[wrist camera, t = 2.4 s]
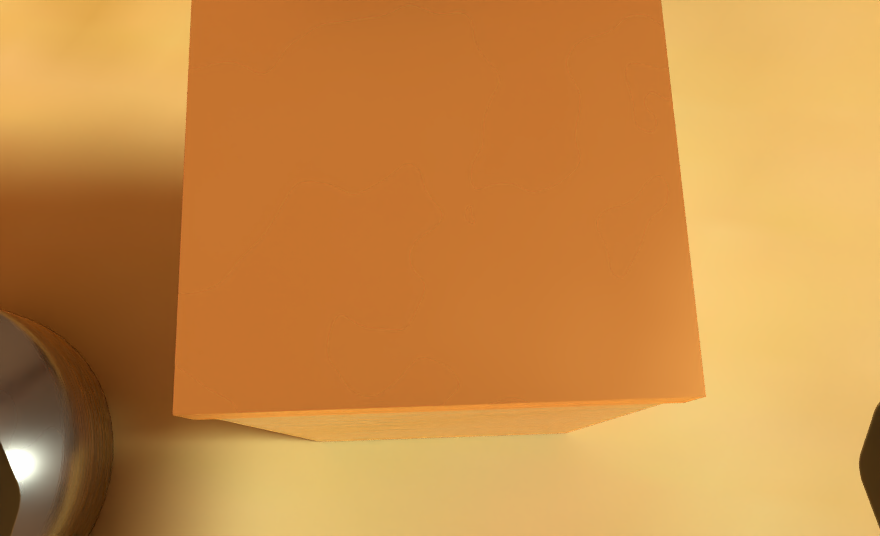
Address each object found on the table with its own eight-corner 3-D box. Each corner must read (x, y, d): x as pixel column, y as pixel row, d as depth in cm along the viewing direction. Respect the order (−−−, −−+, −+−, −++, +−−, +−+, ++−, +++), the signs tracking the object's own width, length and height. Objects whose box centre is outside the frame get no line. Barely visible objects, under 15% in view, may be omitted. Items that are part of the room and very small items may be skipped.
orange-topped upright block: (568, 435, 18) (705, 397, 9) (318, 444, 18) (172, 415, 9) (551, 197, 20) (653, -67, 10) (318, 205, 20) (194, -52, 10)
